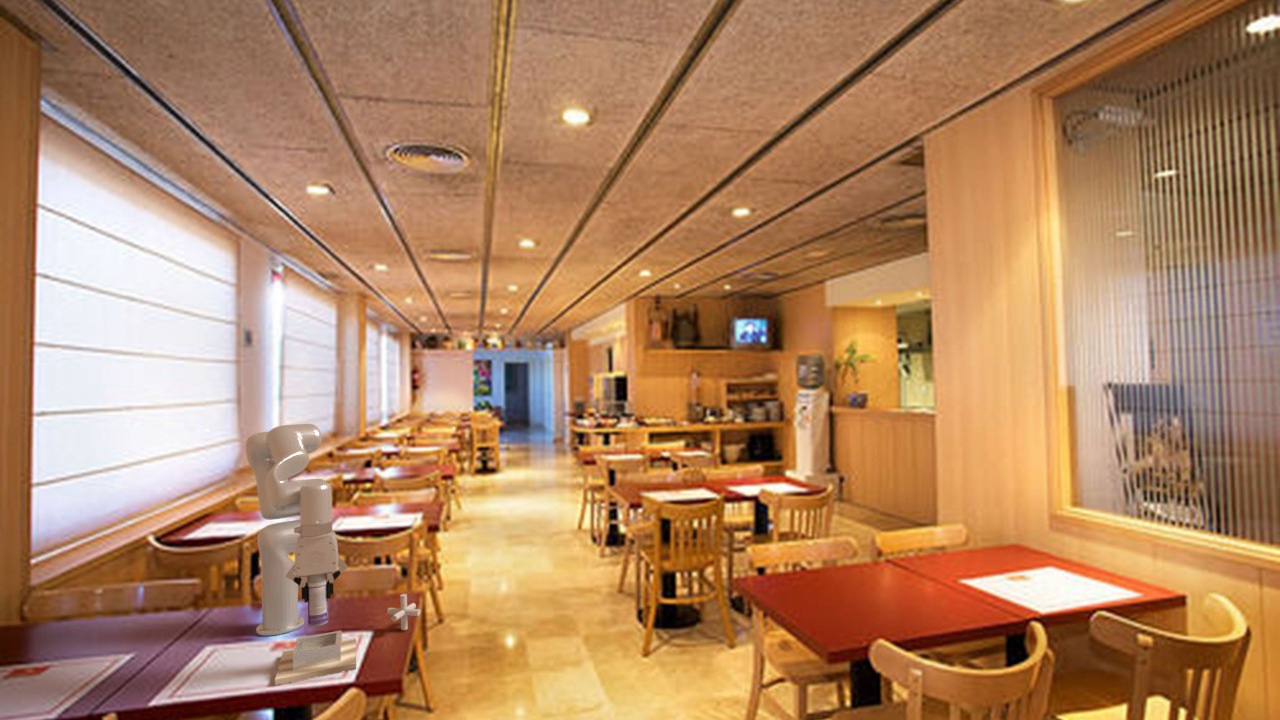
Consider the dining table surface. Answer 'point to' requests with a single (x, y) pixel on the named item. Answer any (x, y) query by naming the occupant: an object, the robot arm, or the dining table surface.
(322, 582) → the container
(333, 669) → the birch board
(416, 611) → the pipe connector
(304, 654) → the duct collar
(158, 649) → the dining table surface
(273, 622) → the robot arm
